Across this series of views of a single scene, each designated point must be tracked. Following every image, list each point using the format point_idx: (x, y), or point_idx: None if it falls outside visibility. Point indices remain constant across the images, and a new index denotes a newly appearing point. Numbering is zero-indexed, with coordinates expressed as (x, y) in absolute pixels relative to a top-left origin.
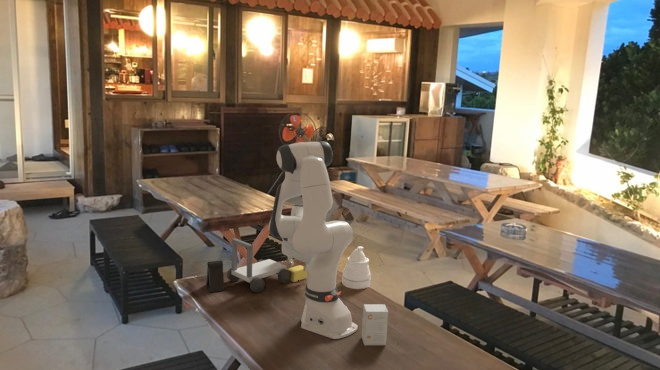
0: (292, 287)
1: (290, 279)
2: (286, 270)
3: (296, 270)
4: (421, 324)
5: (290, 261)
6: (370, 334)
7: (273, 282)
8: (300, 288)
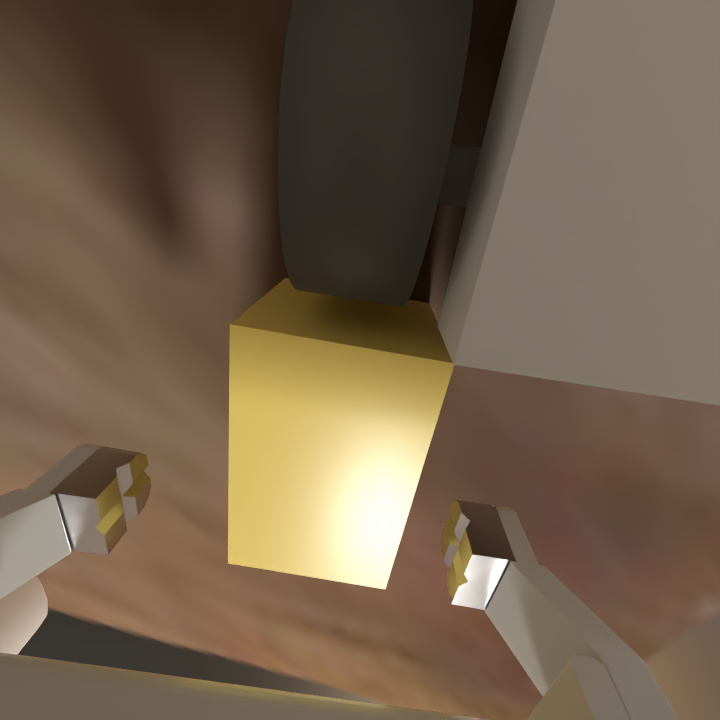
0: (154, 86)
1: None
2: (291, 128)
3: (262, 405)
4: None
5: (514, 579)
6: None
7: None
8: (60, 147)
